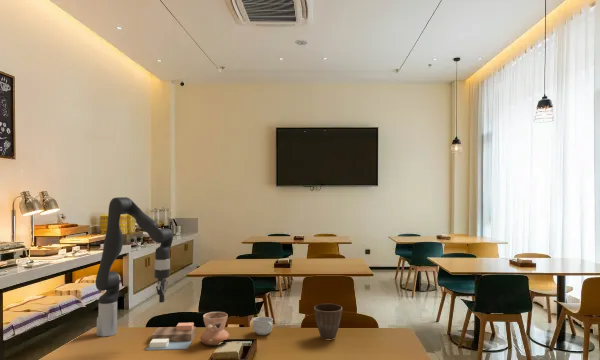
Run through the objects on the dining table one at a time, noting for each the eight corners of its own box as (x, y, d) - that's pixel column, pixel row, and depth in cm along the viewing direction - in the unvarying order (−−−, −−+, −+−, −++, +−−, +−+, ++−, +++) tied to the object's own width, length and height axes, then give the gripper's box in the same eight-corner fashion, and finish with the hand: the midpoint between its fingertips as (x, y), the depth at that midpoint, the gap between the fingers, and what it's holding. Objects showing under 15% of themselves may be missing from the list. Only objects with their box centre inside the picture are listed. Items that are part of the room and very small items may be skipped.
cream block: (152, 338, 204) (152, 344, 203) (149, 342, 199) (149, 347, 198) (169, 338, 204) (169, 343, 204) (166, 342, 199) (166, 347, 199)
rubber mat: (145, 350, 196) (145, 349, 196) (151, 343, 206) (151, 342, 206) (187, 349, 198) (187, 348, 198) (191, 342, 207) (191, 341, 207)
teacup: (250, 331, 223) (250, 317, 224) (268, 329, 228) (269, 314, 228) (258, 339, 211) (258, 324, 211) (278, 336, 215) (278, 321, 216)
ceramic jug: (222, 349, 197) (223, 320, 198) (194, 347, 199) (195, 318, 200) (234, 337, 215) (235, 310, 216) (208, 336, 217) (209, 309, 218)
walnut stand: (151, 343, 206) (151, 335, 206) (158, 334, 218) (158, 327, 218) (191, 342, 208) (191, 334, 208) (195, 334, 219) (195, 326, 220)
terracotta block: (176, 330, 213) (176, 325, 213) (178, 327, 218) (178, 322, 218) (191, 330, 214) (191, 325, 214) (193, 327, 219) (193, 322, 219)
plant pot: (347, 340, 210) (347, 309, 210) (321, 344, 204) (321, 312, 205) (334, 331, 223) (334, 302, 224) (309, 335, 218) (309, 305, 219)
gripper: (158, 265, 213) (158, 298, 213) (150, 270, 200) (150, 305, 199) (173, 265, 214) (172, 298, 213) (166, 270, 200) (165, 305, 200)
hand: (161, 302), depth 206 cm, fingers closed
